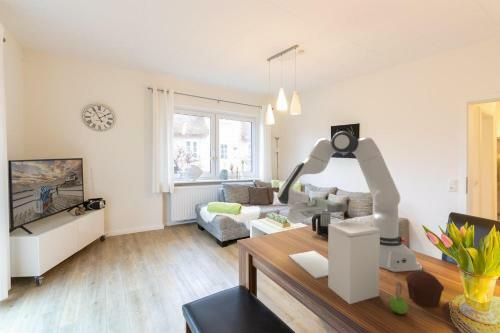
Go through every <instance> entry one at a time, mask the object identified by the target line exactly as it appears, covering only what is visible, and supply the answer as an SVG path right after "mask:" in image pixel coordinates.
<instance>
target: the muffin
mask: <svg viewBox="0 0 500 333" xmlns="http://www.w3.org/2000/svg"><path fill="white" fill-rule="evenodd" d="M405 281H406V284H407V286H406V287H407V292H408V298H409V300H411V301H412V302H413V303H414V304H417V305H420V306H421V307H423V308H431V309H434V308H438V307H439V306H440V301H441V298H442V293H443V291H444V290H445V289H444V285H443V284H442V283H441V282H440V280H439V279H437V277H435V275H433V274H431V273H430V272H427V271H423V270H414V271H411V272H410V273H409V274H407V275H406V277H405Z"/></svg>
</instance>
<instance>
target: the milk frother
mask: <svg viewBox="0 0 500 333" xmlns="http://www.w3.org/2000/svg"><path fill="white" fill-rule="evenodd" d="M331 214H332V213H331V212H328V211H327V210H325V211H323V212H322V213H321V214H319V215H315V216H312V217H311V229H312V231H313V232H315V233H316V234H317V235H320V236H326V237H328V224H331Z"/></svg>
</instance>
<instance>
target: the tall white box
mask: <svg viewBox="0 0 500 333" xmlns="http://www.w3.org/2000/svg"><path fill="white" fill-rule="evenodd" d="M327 237H328V239H327V241H328V247H327V248H328V250H327V252H328V253H327V256H328V258H327V259H328V276H327V287H328V289H330V290H331V291H333V292H334V293H335V294H337V295H338V296H339V297H341V299H343V300H344V301H346V302H347V303H348V304H349V305H352V304H355V303H359V302H362V301H365V300H366V301H367V300H368V299H373V298H376V297H379V296H380V267H379V259H380V229H379V228H376V227H373V225H370V224H367V223H364V222H361V221H358V220H349V221H344V222H343V221H342V222H335V223H330V224H328V236H327Z"/></svg>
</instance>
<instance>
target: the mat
mask: <svg viewBox="0 0 500 333" xmlns="http://www.w3.org/2000/svg"><path fill="white" fill-rule="evenodd" d="M288 257H289V258H290V259H291V260H292V261H294V262H295V263H296V264H297V265H299V266H300V267H301V268H302V269H303V270H305V271H306V272H307V273H308V274H309V275H311V276H312V277H313V278H315V280H316V279H321V278H324V277H325V278H326V277H328V258H327V257H324V256H323V255H321V254H320V253H319V252H317V251H316V250H310V251H304V252H299V253H293V254H288Z"/></svg>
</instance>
